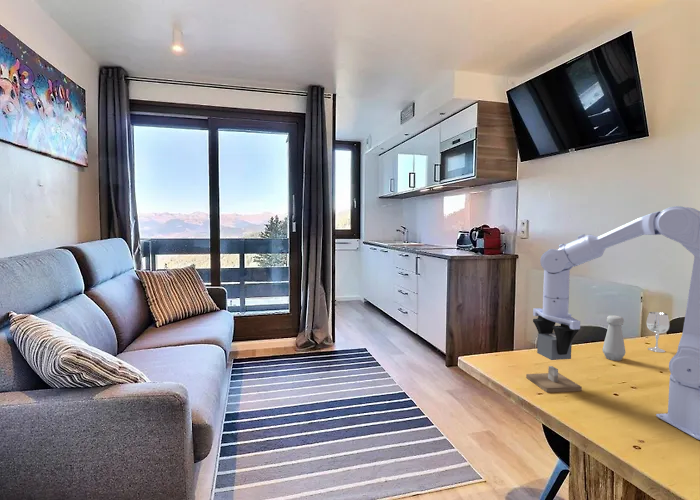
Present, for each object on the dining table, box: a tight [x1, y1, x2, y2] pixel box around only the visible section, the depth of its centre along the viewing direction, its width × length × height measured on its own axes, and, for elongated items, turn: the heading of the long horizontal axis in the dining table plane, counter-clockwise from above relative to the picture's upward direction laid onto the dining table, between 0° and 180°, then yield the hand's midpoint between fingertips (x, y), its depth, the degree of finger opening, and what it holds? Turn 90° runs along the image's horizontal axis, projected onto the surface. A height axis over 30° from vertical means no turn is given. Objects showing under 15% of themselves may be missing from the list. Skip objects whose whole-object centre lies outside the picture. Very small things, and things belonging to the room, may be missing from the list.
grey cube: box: [536, 332, 573, 361], centre depth 98 cm, size 5×5×5 cm
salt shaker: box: [602, 314, 626, 362], centre depth 117 cm, size 6×6×13 cm
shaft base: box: [525, 365, 583, 393], centre depth 98 cm, size 9×9×4 cm
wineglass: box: [646, 311, 670, 353], centre depth 125 cm, size 6×6×12 cm
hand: (553, 350), depth 98 cm, fingers closed on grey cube, 5 cm apart
